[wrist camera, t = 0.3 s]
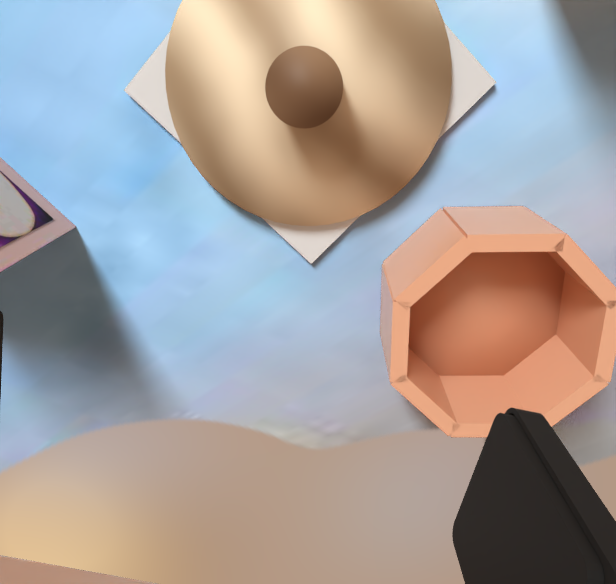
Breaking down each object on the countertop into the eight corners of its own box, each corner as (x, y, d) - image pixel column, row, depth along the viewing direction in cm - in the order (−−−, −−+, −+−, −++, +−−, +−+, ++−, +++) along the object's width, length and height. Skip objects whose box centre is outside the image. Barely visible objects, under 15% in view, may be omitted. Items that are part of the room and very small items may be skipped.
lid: (303, -154, 30) (297, -205, 25) (508, 82, 34) (542, 83, 29) (112, 90, 35) (73, 92, 29) (311, 273, 39) (308, 305, 33)
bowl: (486, 164, 36) (521, 184, 30) (609, 297, 39) (665, 342, 33) (342, 299, 40) (345, 343, 33) (464, 412, 43) (489, 473, 36)
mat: (303, -135, 31) (303, -139, 30) (494, 82, 34) (496, 82, 34) (126, 89, 35) (123, 90, 35) (311, 261, 39) (311, 263, 38)
